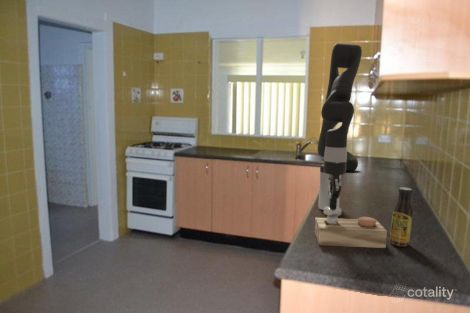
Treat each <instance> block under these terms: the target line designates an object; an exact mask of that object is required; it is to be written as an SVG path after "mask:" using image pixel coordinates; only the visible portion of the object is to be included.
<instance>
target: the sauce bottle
mask: <svg viewBox="0 0 470 313" xmlns="http://www.w3.org/2000/svg"><path fill="white" fill-rule="evenodd" d="M412 193H413V189H412V188H409V187H405V186H404V187H403V186H402V187H398V199H397V201H396V203H395V204H394V207H393V211H392V217H391V224H390V225H391V226H390V233H389V234H390V235H389V243H390V244H391V245H393V246H396V247H400V248H404V247H408V245H409V244H410V240H411V232H412V231H411V230H412V222H413V213H414V210H413V206H412V204H411V198H412Z"/></svg>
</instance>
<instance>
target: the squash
mask: <svg viewBox="0 0 470 313" xmlns="http://www.w3.org/2000/svg"><path fill="white" fill-rule="evenodd" d="M358 167H359V161H358V158H357V157H356V156H355V155H353V153H351V152H349V151H347V162H346V171H348V172H350V173H351V172H354V171H356V170H357V169H358Z"/></svg>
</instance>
